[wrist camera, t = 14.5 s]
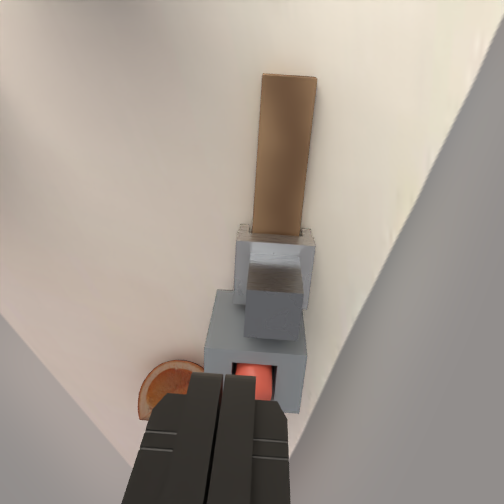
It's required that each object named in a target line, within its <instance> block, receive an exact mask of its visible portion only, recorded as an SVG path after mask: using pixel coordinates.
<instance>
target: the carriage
mask: <svg viewBox="0 0 504 504" xmlns="http://www.w3.org/2000/svg"><path fill="white" fill-rule="evenodd" d="M314 254H315V241H314V237H312V232H311V229H302V231H301V236H288V235H274V234H260V233H249V225H246V224H240V229H239V232H238V234H237V239H236V256H235V276H234V296H233V304H242V305H245V320H244V336H243V337H251V338H264V339H278V340H291V341H298V337H299V329H300V321H301V313H302V309H307V306H308V299H309V291H310V284H311V276H312V269H313V261H314Z"/></svg>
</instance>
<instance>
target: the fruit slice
mask: <svg viewBox="0 0 504 504" xmlns="http://www.w3.org/2000/svg"><path fill="white" fill-rule="evenodd" d="M192 372H204V368H203V367H201V366H199V365H198V364H195V363H193V362H189V361H183V360H173V361H168V362H165V363H162V364H160V365H158V366H157V367H156V368H154V369H153V370H152V371H151V372H150V373H149V375H148V376H147V377H146V379H145V380H144V382H143V384H142V386H141V389H140V392H139V398H138V414H139V419H140V420H149V418H150V415H151V412H152V409H153V408H154V407H155V406H156V405H157V403H158V402H159V401H160V400H161V399H162V398H163V397H164V396H165V395H166V393H174V394H187V389H188V385H189V381H190V377H191V374H192Z"/></svg>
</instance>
